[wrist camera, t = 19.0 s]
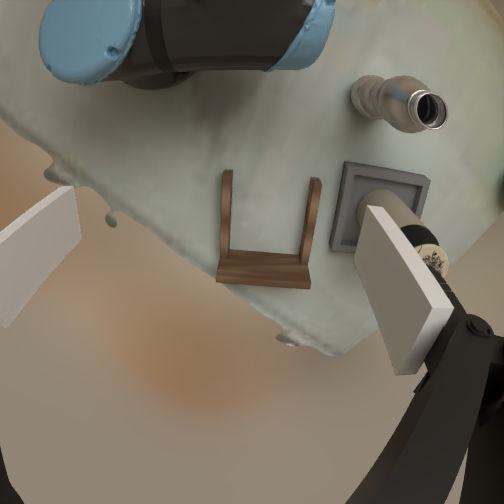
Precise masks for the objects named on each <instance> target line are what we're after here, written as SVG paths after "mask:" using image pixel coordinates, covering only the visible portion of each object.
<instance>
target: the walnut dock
mask: <svg viewBox="0 0 504 504" xmlns="http://www.w3.org/2000/svg"><path fill="white" fill-rule="evenodd" d="M232 178H233V170H225V171H224V173H223V177H222V205H221V241H220V261H219V265H218V269H217V273H216V282H220V283H232V284H244V285H256V286H269V287H282V288H296V289H310V286H311V279H310V274H309V269H308V261H309V256H310V251H311V245H312V240H313V235H314V229H315V223H316V218H317V212H318V206H319V200H320V194H321V188H322V183H321V181H320V179H319V178H314V177H311V183H310V189H309V196H308V203H307V209H306V216H305V222H304V228H303V235H302V241H301V247H300V253H299V255H292V254H280V253H268V252H256V251H243V250H231V249H229V244H230V220H231V198H232Z"/></svg>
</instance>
